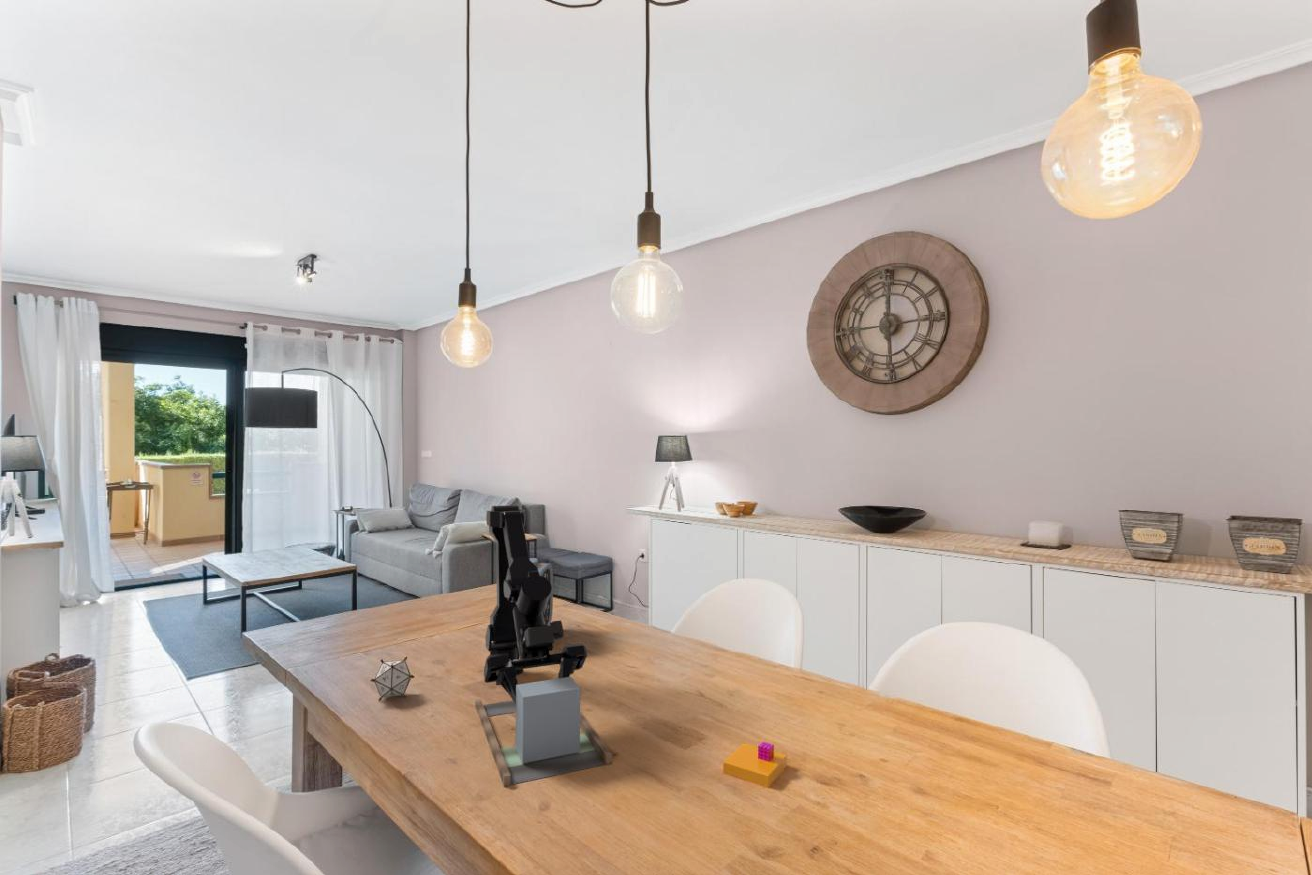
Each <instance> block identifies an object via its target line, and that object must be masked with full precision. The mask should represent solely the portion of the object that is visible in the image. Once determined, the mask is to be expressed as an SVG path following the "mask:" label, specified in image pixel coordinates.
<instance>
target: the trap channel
mask: <svg viewBox="0 0 1312 875" xmlns="http://www.w3.org/2000/svg"><path fill="white" fill-rule="evenodd" d="M474 701H475V702H474V703H475V705H474V706H475V710H476V713H477V715H478V718H479V721H480V724H481V726H482V729H483V733H484V735H485V737H486V740H487V743H488V746H489V748H490V750H491V754H492V756H493V759H494V763H495V765H496V767H497V771H498V773H499V776H500V779H501V782H502V785H503V787H507V786H512V785H515V784H516V785H517V784H520V783H527V782H530V781H535V780H541V779H545V778H549V777H554V776H559V775H564V774H567V773H572V772H578V771H581V770H585V769H586V770H587V769H590V768H596V767H600V766H606V765H610V764H612V763H613V754H612V752H611V751H610V749H609V748H608V746H606V744H605V742H604V741H603V740H602V739H601V738H600V736H599V735H598V734H597V733H596V731H595V730H594V728H593V727H592V725H591V724H590V723H589V721H588V720H587V719H586V718H585V716H584V715H583V714H582V712H581V711H580V730H581V731H582V732H583V733H582V732H580V752H577V753H572V754H567V755H562V756H557V757H552V758H547V759H542V760H537V761H532V762H528V763H522V761H521V759H520V757H519V754H518V752H517V750H516V745H515V746H508V747H503V748H501V747H500V744H499V742H498V740H497V737H496V734H495V732H494V729H493V727H492V724H491V722H490V719H489V718H488V717H492V716H493V717H494V716H499V715H505V714H510V713H516V705H515V703H514V701H513V700H506V701H499V702H495V703H494V702H493V703H488V704H487V703H486V704H483V702H482V699H481V698H479V697H478V698H475V700H474Z"/></svg>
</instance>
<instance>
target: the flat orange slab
mask: <svg viewBox="0 0 1312 875" xmlns="http://www.w3.org/2000/svg"><path fill="white" fill-rule="evenodd" d="M787 767H788V755H786V754H783V753H780V752H776V751H775V745H774V744H773V743H769V742H766V741H762V742H761V743H760V744H759V745H758V746H755V745H752V744H749V743H745V742H744V743H742V744H741V745H739V747H738V748H737V749H735V751H734V752H733V753H731V754H730V755H729V756H728V757H727V758H726V759H724V761H723V762H722V768H723V769H722V773H723V774H725V775H728V776H730V777H735V778H738V779H740V780H743V781H747V782H750V783H752V784H753V783H754V784H756V785H759V786H762V787H765V788H770V787H771V786H772V784H773V783H774V782H775V781H776V779H778V777H779V776H780V775H781V774H782V773H783V772H784V771H785V769H786V768H787Z"/></svg>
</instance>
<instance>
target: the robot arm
mask: <svg viewBox="0 0 1312 875" xmlns="http://www.w3.org/2000/svg"><path fill="white" fill-rule="evenodd" d="M485 517H486V519H485V520H486V525H487V527H488V531H489V535H491V537H492V539H493V540H494V542H495V554H496V555H495V561H496V562H495V563H496V565H495V566H496V570H495V572H496V605H495V607H494V609H493V611H492V613H491V614H490V616H489V624H487V629H486V632H485V639H484V640H485V647H486V649H487V652H489V655H488V656H487V658H486V659H485V664H484V666H483V667H484V669H483V677H484V678H483V679H484V680H483V681H484V683H487V684H490V683H495V685H496V686H501V688H503V689H504V690H505V692H506V693H507V694H508V695H509V697H510V698H511V699H512V700H513V701H514V703H515V705H516V685H519V682H518V679H517V678H518V676H517V675H518V674H520V673H523V672H524V671H525V669H527V670H528V669H533V668H540V667H546V666H554V665H559V670H558V673H557V679H559V678H566V677H571V676H572V675H573V674H574V672H575V671H577V670H580V669H583V666H584V664H585V661H586V660H587V657H588V651H587V648H586V646H585V645H584V644H583V643H575V644H567V645H564V646H563V649H562V651H561V652H559V653H551V651H552V650H554V644H555V643H556V642H555V641H556V640H561V639H562V638H564V626H563V623H562V620H560V619H559V620H553V621H551V623H550V625H549V626H546V625H545V623H544V618H543V612H544V611H545V609H546V606H547V603H548V600H549V597H550V594H551V590H552V586H551V583H550V582H549V581H548V580H547V579H546V578H544V577H542V576H540V575H539V571H538V567H537V566H536V565H535V564H534V563H532V562H531V561H530V558H531V557H530V554H529V547H528V544H527V537H526V534H525V528H524V526H526V510H525V509H520V508H519V506H518V504H514V505H513V504H510V505H507V504H506V505H492V506H491V509H490V510H487V511H486V516H485ZM516 602H517V604H516Z"/></svg>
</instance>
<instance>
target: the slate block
mask: <svg viewBox="0 0 1312 875" xmlns="http://www.w3.org/2000/svg"><path fill="white" fill-rule="evenodd" d="M580 712H581V687H580V686H579V685H578V683H577V682H576V681H575V680H574V679H573V678H572V677H571V676H570V677H566V678H559V679H558V678H553V679H547V680H539V681H533V682H527V683H526V682H525V683H521V684H520V683H518V685H516V712H515V746H516V750H517V752H518V754H519V757H520V759H521V761H522V763H528V762H532V761H537V760H542V759H547V758H552V757H557V756H562V755H567V754H572V753H577V752H580V734H581V728H580Z"/></svg>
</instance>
